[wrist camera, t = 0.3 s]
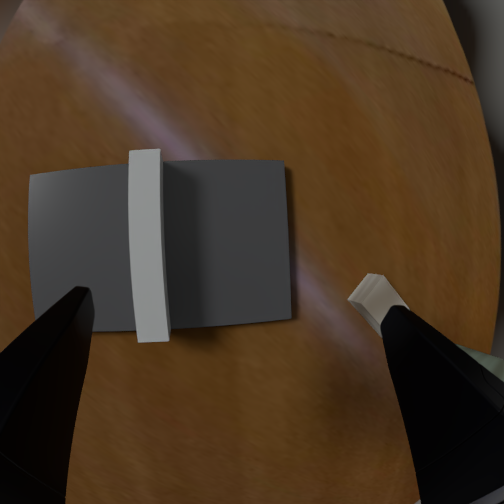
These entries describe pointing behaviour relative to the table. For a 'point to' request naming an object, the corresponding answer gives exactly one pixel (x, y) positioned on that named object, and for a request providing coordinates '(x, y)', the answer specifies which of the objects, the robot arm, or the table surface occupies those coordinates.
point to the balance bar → (384, 296)
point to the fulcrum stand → (163, 242)
